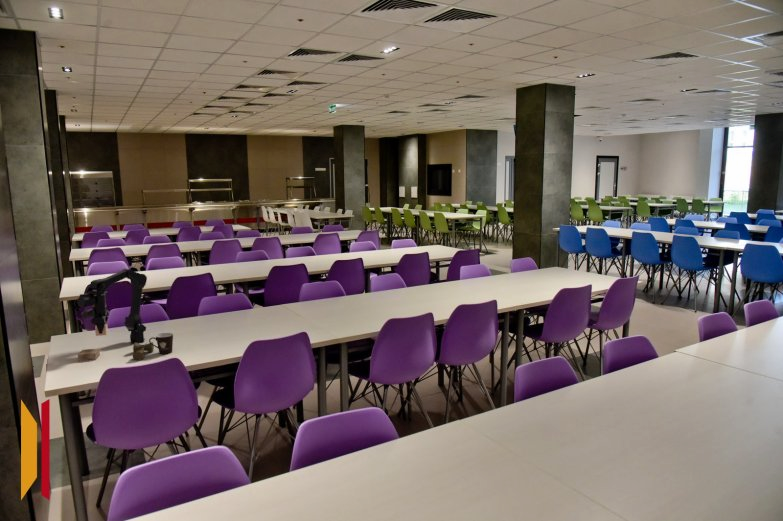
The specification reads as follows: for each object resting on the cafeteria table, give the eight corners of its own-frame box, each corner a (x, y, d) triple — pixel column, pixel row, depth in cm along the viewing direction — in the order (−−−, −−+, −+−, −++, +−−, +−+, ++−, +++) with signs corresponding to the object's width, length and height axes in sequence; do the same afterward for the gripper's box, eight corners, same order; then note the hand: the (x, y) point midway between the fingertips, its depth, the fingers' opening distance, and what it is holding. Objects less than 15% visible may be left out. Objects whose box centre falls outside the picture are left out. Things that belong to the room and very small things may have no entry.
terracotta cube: (107, 332, 284) (107, 323, 284) (106, 335, 280) (105, 325, 279) (97, 333, 283) (96, 324, 282) (95, 335, 278) (95, 326, 277)
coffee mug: (178, 351, 286) (176, 333, 284) (166, 356, 277) (165, 337, 276) (160, 348, 289) (159, 331, 288) (148, 353, 281) (147, 335, 280)
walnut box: (99, 355, 280) (99, 348, 279) (95, 360, 272) (95, 353, 272) (83, 357, 278) (82, 349, 277) (78, 362, 270) (77, 354, 270)
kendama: (127, 362, 270) (137, 349, 289) (148, 361, 272) (155, 348, 291) (127, 351, 269) (136, 339, 288) (147, 350, 271) (155, 338, 290)
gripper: (85, 301, 285) (87, 329, 287) (78, 308, 267) (80, 338, 270) (108, 299, 289) (110, 327, 291) (103, 307, 271) (105, 336, 273)
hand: (101, 332), depth 281 cm, fingers closed on terracotta cube, 5 cm apart
